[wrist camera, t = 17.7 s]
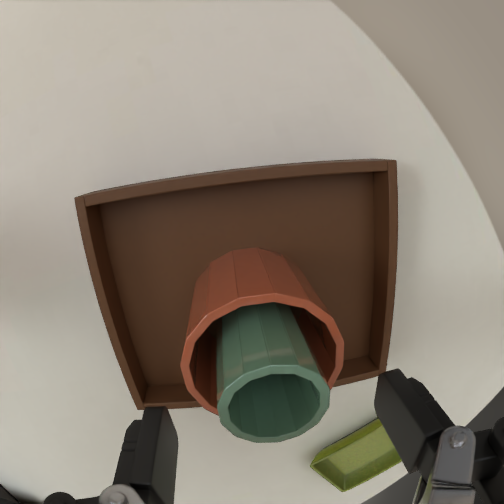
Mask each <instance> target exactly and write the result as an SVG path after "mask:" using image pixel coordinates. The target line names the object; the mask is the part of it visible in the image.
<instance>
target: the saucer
mask: <svg viewBox="0 0 504 504" xmlns="http://www.w3.org/2000/svg"><path fill="white" fill-rule="evenodd" d="M401 461H402V460H401V458H400V456H399V454H398V452H397V451H396V449H395V447H394V445H393V443H392V441H391V440H390V438H389V436H388V434H387V432H386V431H385V429H384V427H383V425H382V423H381V422H380V420H379V418H377V419H375V420H374V421H372V422H371V423H369V424H367V425H366V426H364V427H362V428H361V429H359V430H357V431H356V432H354V433H352V434H350V435H348V436H347V437H345V438H343V439H341V440H339V441H337V442H336V443H334V444H332V445H330V446H328V447H326V448H324V449H323V450H322V451H321V452H319V453H318V454H317V456H316V457H315V458H314V460H313V461H312V463H311V465H310V467H311V468H312V469H313V470H315V471H316V472H317V473H318V474H319V475H321V476H322V477H323V478H325V479H326V480H327V481H328V482H330V483H331V484H332V485H334V486H335V487H336V488H337V489H338V490H340V491H341V492H345V491H347V490H350V489H352V488H354V487H356V486H358V485H360V484H362V483H364V482H366V481H368V480H369V479H371V478H373V477H375V476H377V475H379V474H381V473H382V472H384V471H386V470H388V469H389V468H391V467H393V466H395V465H396V464H398V463H400V462H401Z"/></svg>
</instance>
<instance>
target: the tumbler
mask: <svg viewBox="0 0 504 504" xmlns="http://www.w3.org/2000/svg"><path fill="white" fill-rule="evenodd" d="M270 302H277V303H282V304H286V305H291V306H295V307H300V308H303V309H302V312H301V314H300V317H299V319H298V320H299V323H300V325H301V327H302V329H303V331H304V333H305V336H306V338H307V340H308V342H309V344H310V346H311V349H312V351H313V353H314V355H315V357H316V359H317V362H318V364H319V366H320V368H321V370H322V372H323V375H324V377H325V379H326V381H327V383H328V386H329V388H330V390H331V389H332V387H333V385H334V383H335V381H336V379H337V377H338V375H339V374H340V372H341V370H342V368H343V358H344V340H343V338H342V335H341V333H340V331H339V329H338V327H337V325H336V323H335V321H334V319H333V317H332V316H331V314H330V313H329V311H328V310H327V308H326V307H325V305H324V304H323V302H322V301H321V299H320V298H319V296H318V295H317V293H316V292H315V290H314V289H313V287H312V286H311V285H310V283H309V282H308V280H307V279H306V277H305V276H304V274H303V273H302V271H301V270H300V268H299V267H298V266H296V265H295V264H294V263H293V262H291V261H290V260H289V259H287V258H286V257H285V256H284V255H282V254H281V253H278V252H274V251H270V250H266V249H262V248H259V247H255V248H247V249H239V250H233V251H230V252H228V253H227V254H225V255H223V256H221V257H219V258H217V259H216V260H214V261H212V262H211V263H210V264H209V265H208V266H207V267H206V269H205V270H204V271H203V272H202V274H201V275H200V276H199V278H198V279H197V280H196V283H195V287H194V291H193V295H192V299H191V303H190V309H189V314H188V320H187V326H186V331H185V337H184V343H183V349H182V355H181V362H180V367H181V371H182V374H183V378H184V381H185V385H186V388H187V390H188V391H189V393H190V394H191V395H192V396H193V397H194V398H195V399H196V400H197V401H198V402H199V403H200V405H201V406H202V407H203V408H205V409H206V410H208V411H210V412H212V413H214V414H216V415H218V416H219V414H218V410H217V367H216V338H214V337H212V336H211V334H210V333H209V332H208V330H207V328H208V327H209V326H210V324H211V323H212V322H213V321H214V320H216V319H218V318H220V317H222V316H224V315H226V314H228V313H230V312H232V311H234V310H236V309H237V308H239V307H241V306H248V305H255V304H263V303H270Z"/></svg>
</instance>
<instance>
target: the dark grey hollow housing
mask: <svg viewBox="0 0 504 504" xmlns="http://www.w3.org/2000/svg"><path fill="white" fill-rule="evenodd" d="M0 504H20V503H19V502H18V501H17V500H16V499H15V498H14V497H13V496H12V495H11V494H10V493H9V492H7V491H6V490H5V489H4V488H3V487H2V486H1V485H0Z"/></svg>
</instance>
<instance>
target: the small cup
mask: <svg viewBox="0 0 504 504" xmlns="http://www.w3.org/2000/svg"><path fill="white" fill-rule="evenodd" d="M216 367H217V410H218V414H219V418H220V422H221V424H222V425H223V426H224V427H225V428H226V429H227V430H229V431H230V432H231V433H232V434H233V435H234V436H236V437H239V438H242V439H245V440H248V441H251V442H256V443H272V442H281V441H284V440H288V439H291V438H294V437H297V436H300V435H302V434H303V433H305V432H306V431H308V430H309V429H311V428H312V427H313V426H315V425H316V424H318V423H319V421H320V420H321V418H322V417H323V415H324V414H325V412H326V411H327V409H328V408H329V402H330V388H329V386H328V383H327V381H326V379H325V377H324V375H323V372H322V370H321V368H320V366H319V364H318V362H317V359H316V357H315V355H314V353H313V351H312V349H311V346H310V344H309V342H308V340H307V338H306V336H305V333H304V331H303V329H302V327H301V325H300V323H299V320H298V318H297V316H296V314H295V312H294V310H293V308H292V306H291V305H286V304H282V303H277V302H270V303H263V304H255V305H248V306H241V307H239V308H237V309H236V310H234V311H232V312H230V313H228V314H226V315H224V316H222V317H220V318H218V319H217V336H216Z"/></svg>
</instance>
